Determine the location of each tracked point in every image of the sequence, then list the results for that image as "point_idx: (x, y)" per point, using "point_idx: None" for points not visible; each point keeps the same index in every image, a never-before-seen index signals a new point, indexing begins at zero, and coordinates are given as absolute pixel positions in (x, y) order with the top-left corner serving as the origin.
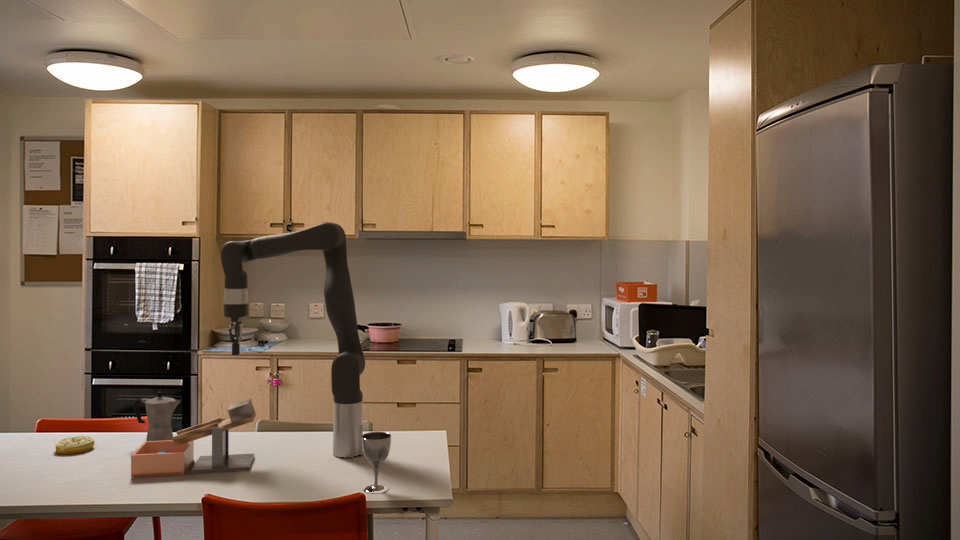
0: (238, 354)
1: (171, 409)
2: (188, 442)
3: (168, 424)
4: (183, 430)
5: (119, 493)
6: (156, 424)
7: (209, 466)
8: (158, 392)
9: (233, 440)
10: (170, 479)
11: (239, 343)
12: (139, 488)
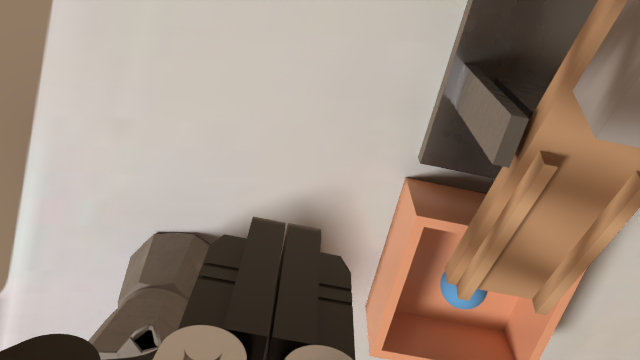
0: (318, 234)
1: (160, 333)
2: (458, 233)
3: (179, 298)
4: (480, 281)
5: (622, 349)
6: None
7: None
8: None
9: (185, 19)
10: None
11: (306, 345)
12: (612, 311)
